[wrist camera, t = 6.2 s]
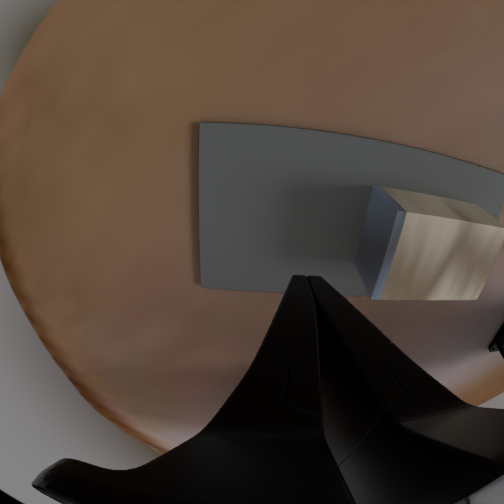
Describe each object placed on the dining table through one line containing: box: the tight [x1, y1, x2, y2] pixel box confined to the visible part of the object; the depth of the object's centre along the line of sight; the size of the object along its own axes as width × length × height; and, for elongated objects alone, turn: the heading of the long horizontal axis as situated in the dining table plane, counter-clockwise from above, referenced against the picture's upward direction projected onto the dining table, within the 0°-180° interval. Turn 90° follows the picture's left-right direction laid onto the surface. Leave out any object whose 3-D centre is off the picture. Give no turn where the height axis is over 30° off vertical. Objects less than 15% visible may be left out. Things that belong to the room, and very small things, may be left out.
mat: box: [199, 122, 504, 296], centre depth 17 cm, size 10×20×1 cm, turn 86°
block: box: [354, 185, 504, 300], centre depth 15 cm, size 5×4×8 cm
